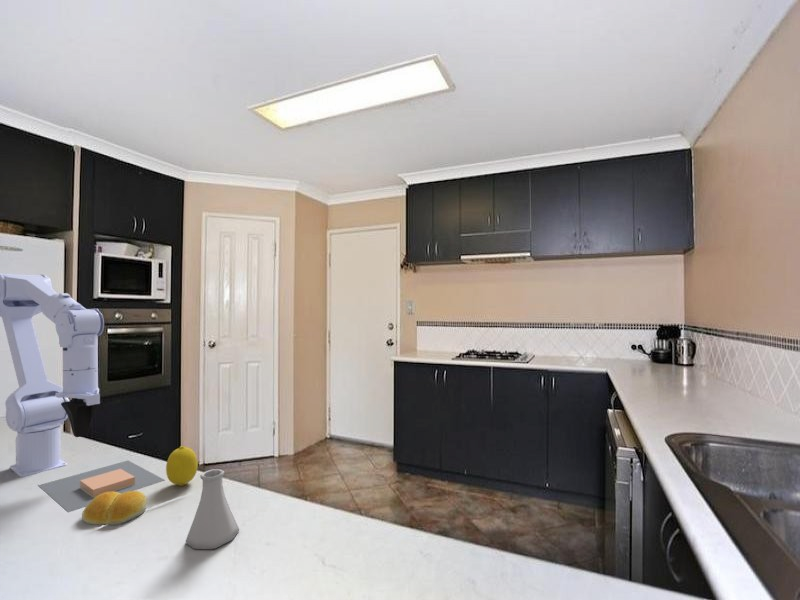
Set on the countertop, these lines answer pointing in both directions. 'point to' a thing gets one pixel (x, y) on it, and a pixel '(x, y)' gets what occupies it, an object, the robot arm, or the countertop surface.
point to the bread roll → (114, 508)
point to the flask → (212, 515)
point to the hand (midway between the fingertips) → (81, 435)
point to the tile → (107, 482)
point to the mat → (69, 487)
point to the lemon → (181, 466)
